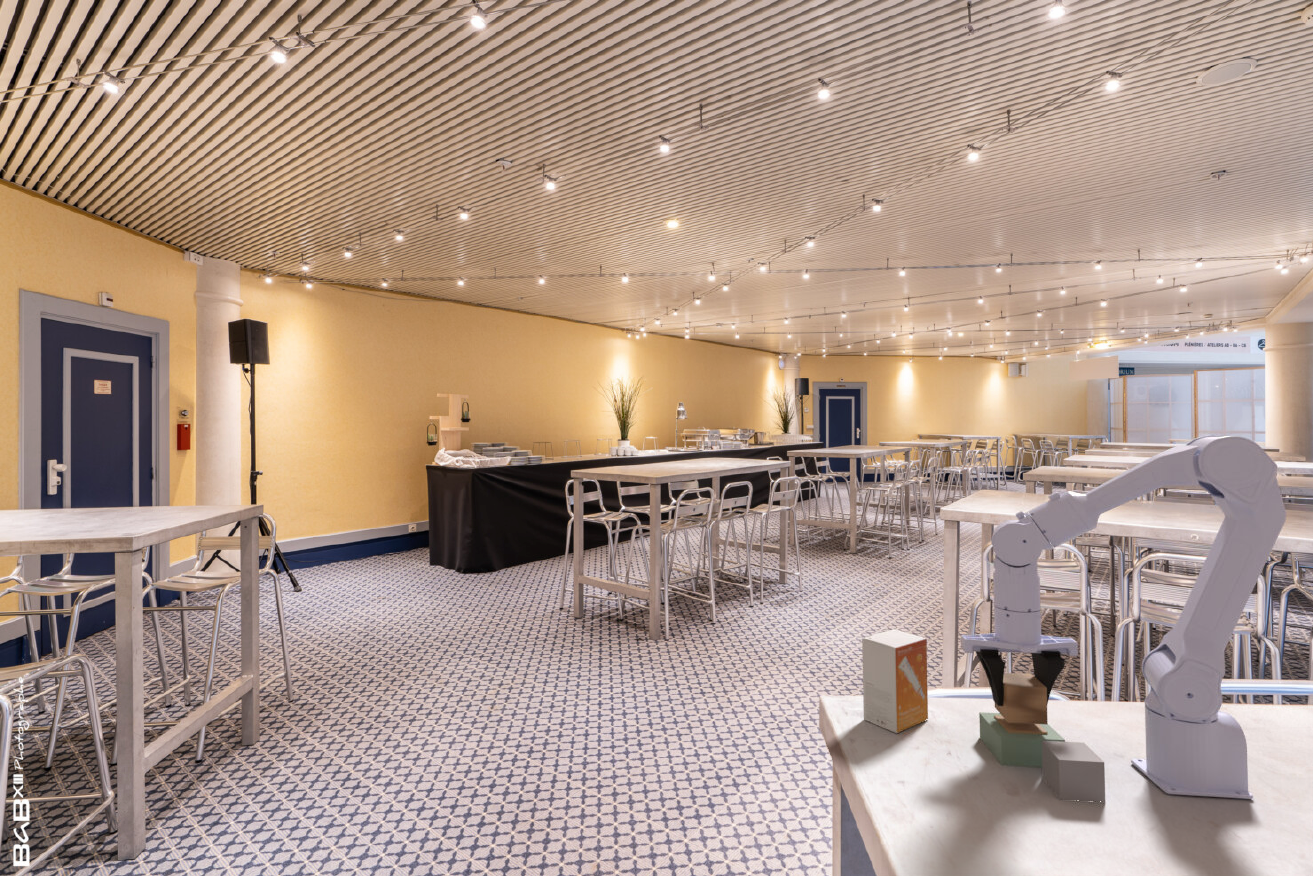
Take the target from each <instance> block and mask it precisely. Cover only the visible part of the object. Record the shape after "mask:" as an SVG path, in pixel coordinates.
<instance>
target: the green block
mask: <svg viewBox="0 0 1313 876" xmlns="http://www.w3.org/2000/svg"><path fill="white" fill-rule="evenodd" d="M978 715H979V717H978V718H979V739H980V740H981V741H982V743H984V745H985V746H986V748H988V750H989V751H990V752H991V754H992V755H993V756H994V758H995V759H996V760H997V761H998V763H999V764H1000V765H1001V766H1002V767H1003V766H1004V767H1005V766H1006V767H1028V768H1029V767H1031V768H1042V743H1041V741H1061V742H1066V739H1065V738H1063V737H1062V735H1060V734H1059V733H1058V732H1057V731H1056V730H1055V729H1054V728H1053V727H1051V725H1050V724H1049V723H1048V724H1026V723H1008V722H1007V721H1006V720H1005V719H1004V717H1003V716H1002V715H1001V714H1000V713H999V712H979V713H978Z"/></svg>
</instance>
